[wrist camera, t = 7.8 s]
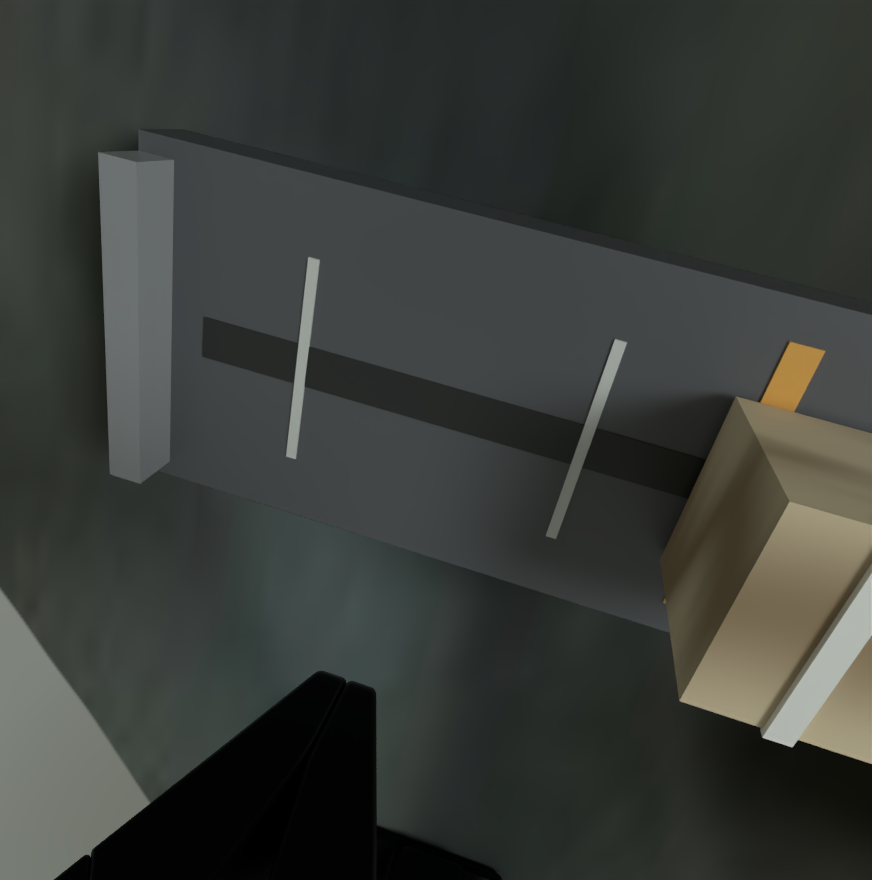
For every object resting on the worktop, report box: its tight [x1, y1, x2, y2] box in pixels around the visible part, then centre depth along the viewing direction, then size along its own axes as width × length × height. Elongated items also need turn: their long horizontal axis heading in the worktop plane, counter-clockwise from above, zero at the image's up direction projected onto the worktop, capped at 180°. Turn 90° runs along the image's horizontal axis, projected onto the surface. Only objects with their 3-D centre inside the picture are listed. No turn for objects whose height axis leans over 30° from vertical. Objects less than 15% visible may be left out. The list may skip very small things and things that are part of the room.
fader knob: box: [660, 396, 872, 764], centre depth 14 cm, size 5×4×5 cm
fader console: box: [98, 129, 872, 633], centre depth 17 cm, size 10×26×4 cm, turn 78°
